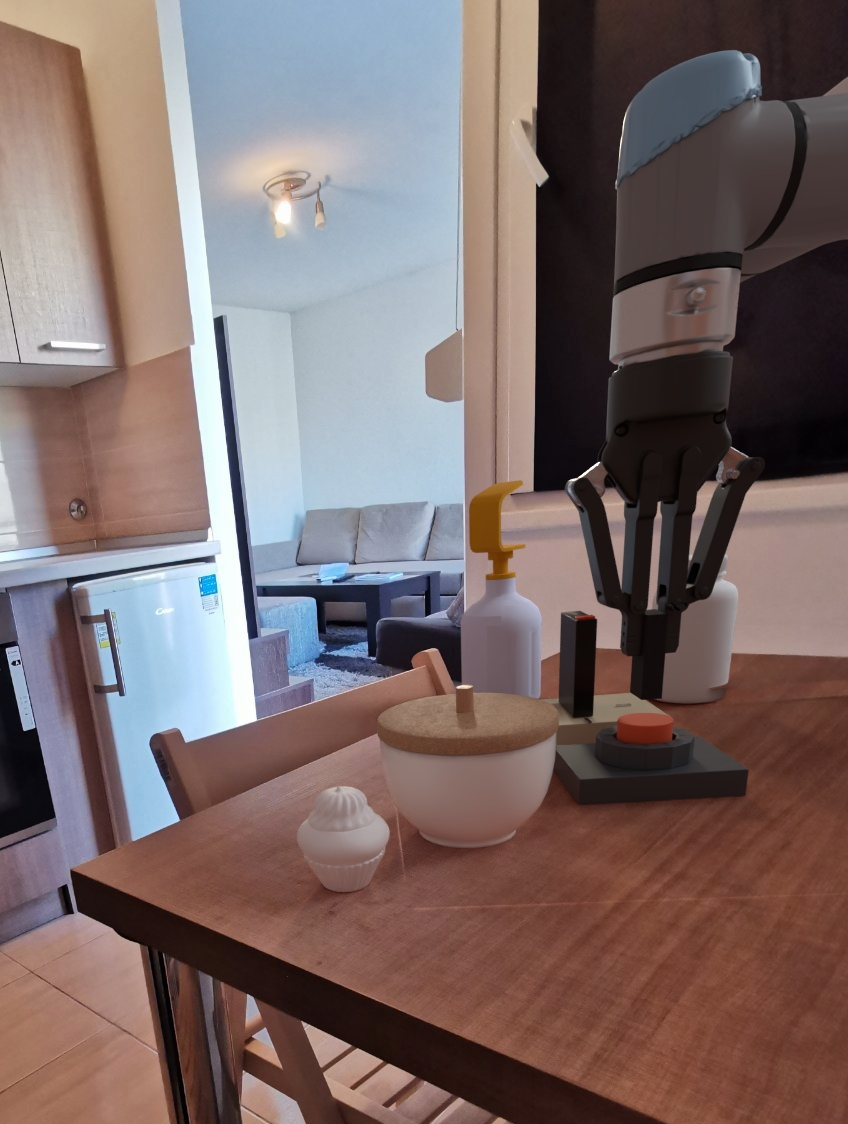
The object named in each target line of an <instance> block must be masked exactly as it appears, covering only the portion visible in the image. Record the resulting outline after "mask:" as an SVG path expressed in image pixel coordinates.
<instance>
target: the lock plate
mask: <svg viewBox="0 0 848 1124" xmlns="http://www.w3.org/2000/svg"><path fill="white" fill-rule="evenodd" d="M542 700H543V701H546V702H548V703H550V704H552V705H553V706H554V707H555V708H556V709H557V710H558V713H559V727H558V730H557V732H556V746H559V745H574V744H589V743H596V735H597V734H598V733H599V732H600V731H601V730H602V729H605V728H609V727H613V726H617V720H618V718H619V717H621V716H623V715H627V714H633V713H657V714H663V715H667V716H670V715H669V714H668V713H665V712H664V711H663V710H662V709H660V708H658V707H657V706H655V705H654V704H652V703H651V702H649V701H648V700H640V699H639V698H638V697H636V696H635V695H633V694H632V693H630V692H621V693H610V694H609V693H608V694H597V695H595V694H594V707H593V716H588V717H572V716H571V715H570V714H569V713H568V712H567V711H566V710H565V708H564V707H563V706H562V705H561V704H560V703H559V697H557V698H544V699H542Z"/></svg>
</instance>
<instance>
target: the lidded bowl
mask: <svg viewBox="0 0 848 1124" xmlns="http://www.w3.org/2000/svg"><path fill="white" fill-rule="evenodd" d="M558 727H559V713H558V710H557V709H556V708H555V707H554V706H553V705H552V704H550V703H548V702H546V701H543V699H540V698H538V699H537V698H532V697H528V696H523V695H515V694H504V693H473V686H472V685H462V684H461V685H457V686H455V693H450V694H449V693H448V694H439V695H433V696H426V697H422V698H421V697H420V698H417V699H412V700H408V701H405V702H402V703H398V704H396V705H394V706H391V707H389V708H387V709H386V710H384V711H382V712H381V713H380V714H379V715H378V717H377V719H376V732H377V738H378V739H379V750H380V761H381V763H380V764H381V770H382V773H383V779H384V783H385V785H386V789H387V792H388V795H389V797H390V799H391V801H392V803H393V805H394V807H395V808H396V809H397V811H398V812H399V814H400V815H401V816H402V817H403V818H404V819H405V820H406V821H407V822H408V823H409V824H410V825H412V826H413V827H414V828H416V829H417V831H418V833H419V835H420V836H421V838H423V839H425V840H426V841H428V842H430V843H433V844H435V845H439V846H443V847H448V848H456V849H478V848H486V847H492V846H496V845H499V844H502V843H505V842H507V841H509V840H511V839H512V838H513V837H515V835H516V832H517V829H519V828H520V827H521V826H523V825H525V824H526V823H527V822H528V821H529V820H530V819H531V818H532V817H533V816H534V815H535V813H536V812H537V811H538V809H540V807H541V805H542V804H543V802H544V799H545V797H546V795H547V793H548V791H549V787H550V784H551V780H552V777H553V773H554V771H553V768H554V762H555V753H556V732H557V730H558Z"/></svg>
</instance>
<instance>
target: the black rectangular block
mask: <svg viewBox="0 0 848 1124" xmlns="http://www.w3.org/2000/svg"><path fill="white" fill-rule="evenodd" d="M559 632H560V634H559V636H560V637H559V665H558V666H559V672H558V698H559V703H560V704H561V705H562V706H563V707H564V708H565V710H566V711H567V712H568V713H569V714H570V715H571V716H572V717H588V716H593V707H594V695H595V683H596V682H595V681H596V657H597V637H598V636H597V635H598V618H596V615H594V614H588V613H585V612H584V611H582V610H573V611H563V612H561V613H560V631H559Z"/></svg>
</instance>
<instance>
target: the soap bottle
mask: <svg viewBox="0 0 848 1124" xmlns="http://www.w3.org/2000/svg"><path fill="white" fill-rule="evenodd" d="M523 485H524V482H523V480H522V479H521V480H520V479H519V480H512V481H505V482H498V483H494V484H492V485H490V486H489V487H486V488H485V489H484V490H482V491H481V492H479V493H477V494H476V495H474V496H473V498H472V499H471V500H470V503H469V507H468V529H469V534H468V535H469V536H468V537H469V540H468V541H469V547H470V551H471V552H472V553H474V554H482V553H483V554H485V553H487V561H492V572H490V573H486V574H485V593H484V595H483V596H482V597H481V598H480V599H478V600H476V601H475V602H474V603H472V604H471V605H470V606H468V608H467V609H466V610H465V611H464V612H463V614H462V617H461V621H460V652H461V653H460V654H461V655H460V656H461V658H460V660H461V685H472V686H473V693H504V694H515V695H523V696H528V697H532V698H537V699H540V697H541V690H542V689H541V687H542V686H541V684H542V640H543V639H542V636H543V635H542V634H543V633H542V632H543V630H542V629H543V628H542V627H543V623H542V622H543V617H542V614H541V610H540V609H539V606H537V605H536V604H535V603H534V602H533V601H532V600H531V599H528V598H526V597H524V596H522V595H521V594H520V593H518V592H517V587H516V585H517V584H516V580H517V579H516V571H509V560H511V559H513V558H514V551H517V550H521V549H522V550H523V549H526V544H525V543H521V544H519V543H518V544H503V542H502V507H503V505H502V504H503V502H504V500H505V498H506V497H507V496H508V495H510V494H511V493H513V492H514V491H516V490H517V489H519V488H520V487H522V486H523Z"/></svg>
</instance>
